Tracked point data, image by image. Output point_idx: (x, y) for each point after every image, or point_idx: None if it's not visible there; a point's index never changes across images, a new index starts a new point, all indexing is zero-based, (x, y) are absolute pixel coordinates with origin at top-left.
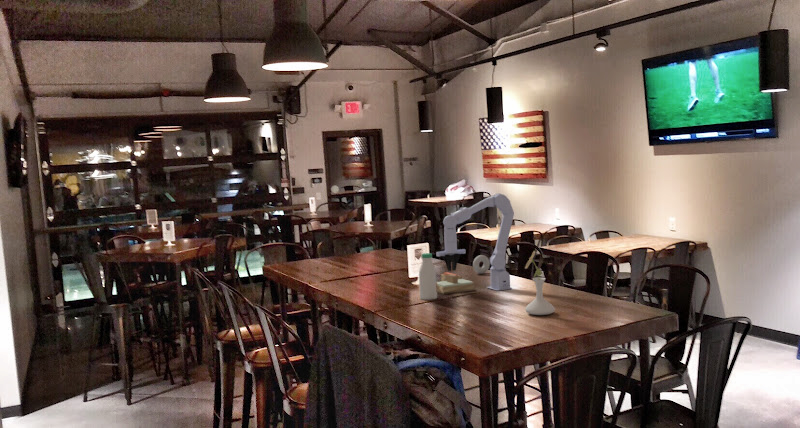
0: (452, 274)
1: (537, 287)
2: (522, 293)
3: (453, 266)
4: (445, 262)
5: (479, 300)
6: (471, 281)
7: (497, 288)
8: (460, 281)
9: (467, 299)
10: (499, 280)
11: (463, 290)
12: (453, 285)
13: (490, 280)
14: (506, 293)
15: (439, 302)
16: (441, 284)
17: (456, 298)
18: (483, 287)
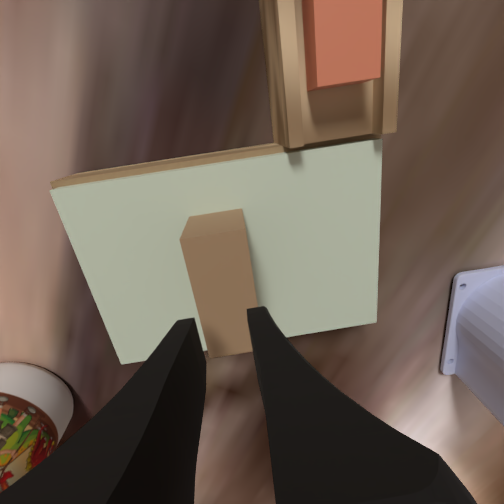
0: (340, 2)
1: None
2: (484, 444)
3: (257, 371)
4: (104, 415)
5: (257, 492)
6: (374, 306)
7: (458, 362)
8: (302, 267)
9: (217, 467)
10: (499, 419)
11: None
12: (205, 344)
13: (501, 331)
14: (433, 424)
15: None
16: (112, 319)
17: None
18: (450, 243)
